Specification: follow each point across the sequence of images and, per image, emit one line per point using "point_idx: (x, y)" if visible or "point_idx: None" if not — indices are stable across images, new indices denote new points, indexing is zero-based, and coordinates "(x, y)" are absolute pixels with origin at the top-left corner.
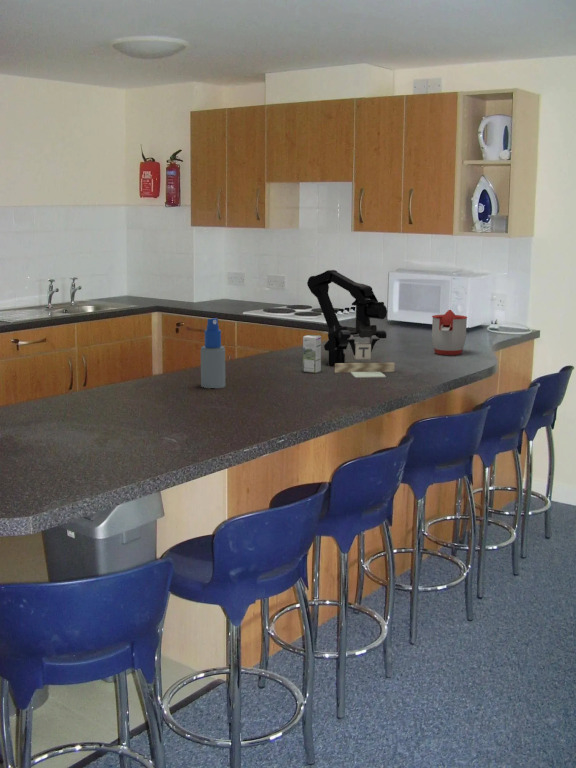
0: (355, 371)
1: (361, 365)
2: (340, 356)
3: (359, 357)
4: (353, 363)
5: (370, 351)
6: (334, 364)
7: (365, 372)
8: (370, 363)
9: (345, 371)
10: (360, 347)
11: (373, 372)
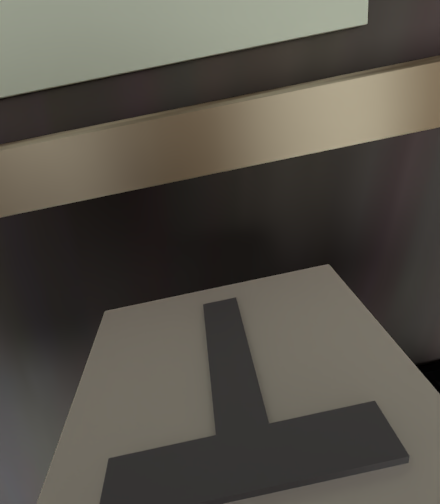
0: (300, 83)
1: (239, 100)
2: None
3: (284, 291)
4: (374, 106)
5: (73, 418)
6: (425, 375)
7: (172, 3)
8: (92, 140)
9: (423, 59)
10: (357, 467)
11: (56, 14)
